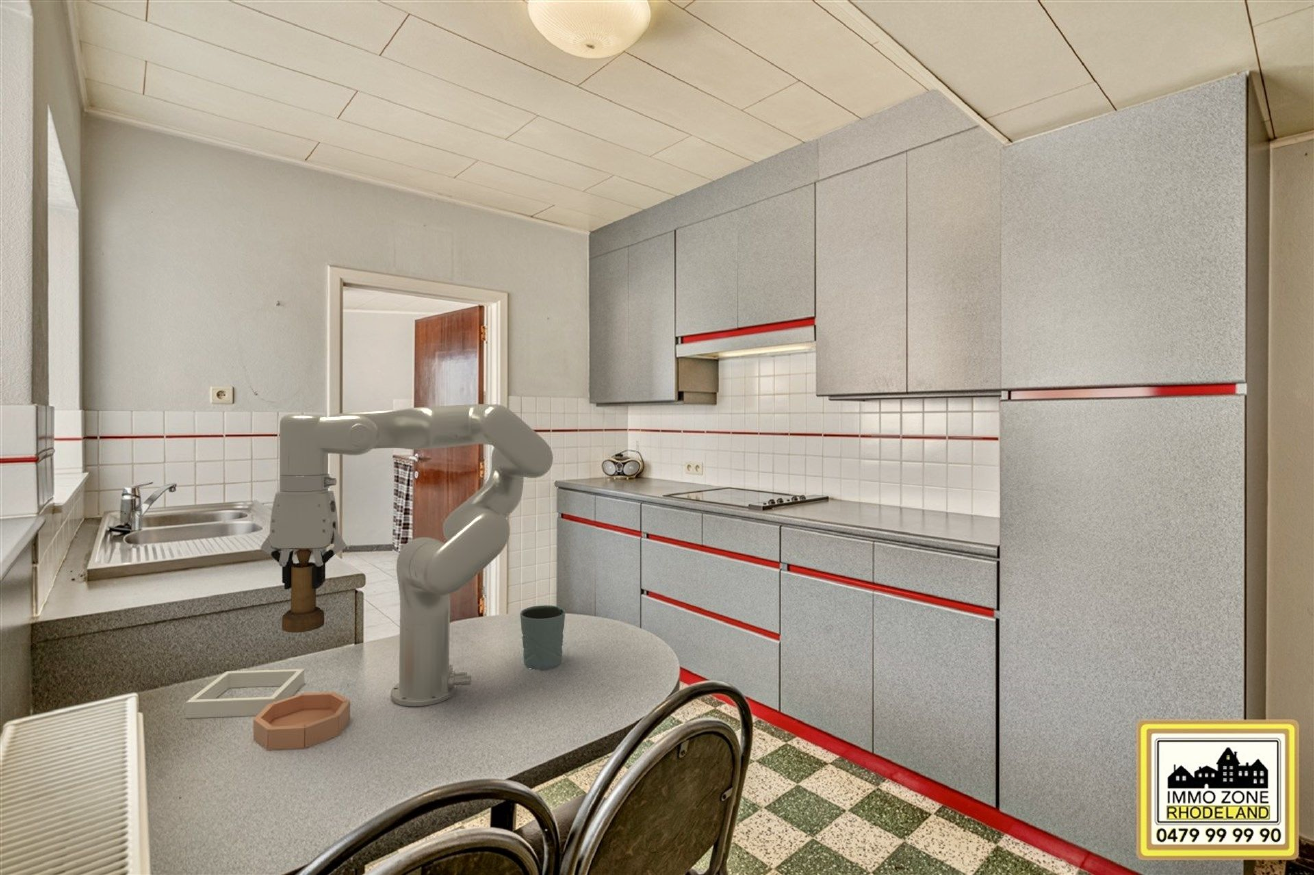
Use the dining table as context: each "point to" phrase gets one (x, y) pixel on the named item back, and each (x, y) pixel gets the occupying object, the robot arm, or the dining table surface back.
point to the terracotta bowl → (301, 720)
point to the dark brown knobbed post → (302, 598)
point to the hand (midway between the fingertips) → (303, 586)
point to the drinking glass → (542, 636)
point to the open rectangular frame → (209, 706)
